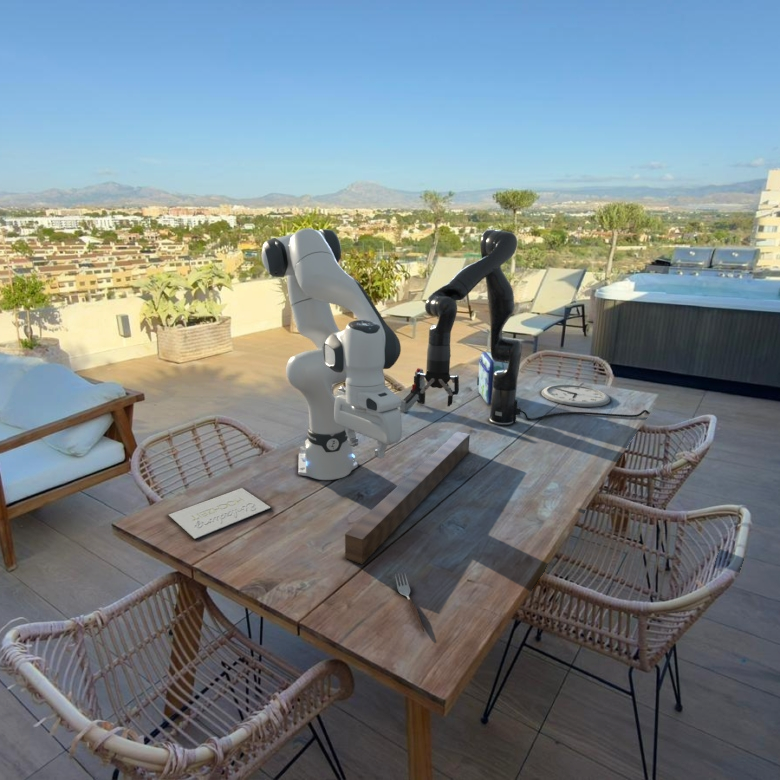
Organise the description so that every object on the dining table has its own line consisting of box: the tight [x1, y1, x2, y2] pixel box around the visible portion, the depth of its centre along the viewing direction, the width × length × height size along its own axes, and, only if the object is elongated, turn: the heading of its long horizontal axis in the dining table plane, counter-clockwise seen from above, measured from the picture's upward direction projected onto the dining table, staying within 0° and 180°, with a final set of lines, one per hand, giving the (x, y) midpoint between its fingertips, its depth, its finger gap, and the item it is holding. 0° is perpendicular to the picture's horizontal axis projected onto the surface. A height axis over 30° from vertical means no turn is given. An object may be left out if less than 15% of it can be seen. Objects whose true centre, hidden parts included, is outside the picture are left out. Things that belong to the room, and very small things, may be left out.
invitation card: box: [168, 487, 271, 540], centre depth 138 cm, size 21×1×15 cm
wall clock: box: [541, 384, 611, 408], centre depth 239 cm, size 30×2×30 cm
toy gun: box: [399, 367, 426, 413], centre depth 218 cm, size 2×16×15 cm
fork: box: [394, 572, 425, 632], centre depth 105 cm, size 3×16×2 cm, turn 15°
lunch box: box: [476, 351, 508, 406], centre depth 230 cm, size 26×11×21 cm, turn 179°
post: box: [344, 431, 471, 565], centre depth 148 cm, size 72×5×6 cm, turn 152°
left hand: (366, 451), depth 121 cm, fingers open, 8 cm apart
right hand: (436, 404), depth 175 cm, fingers open, 8 cm apart
